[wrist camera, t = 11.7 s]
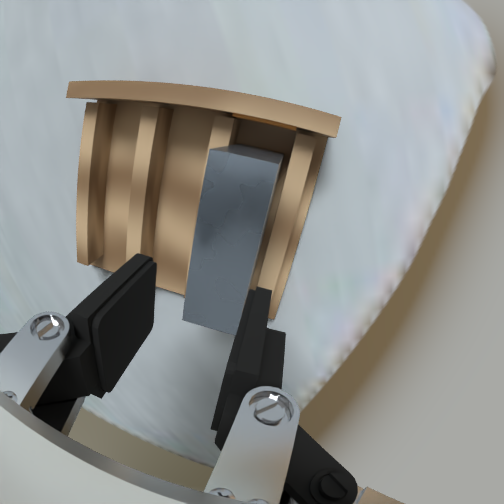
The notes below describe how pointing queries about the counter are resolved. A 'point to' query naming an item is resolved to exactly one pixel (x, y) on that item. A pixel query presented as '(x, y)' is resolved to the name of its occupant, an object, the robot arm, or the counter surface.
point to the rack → (185, 172)
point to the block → (229, 233)
